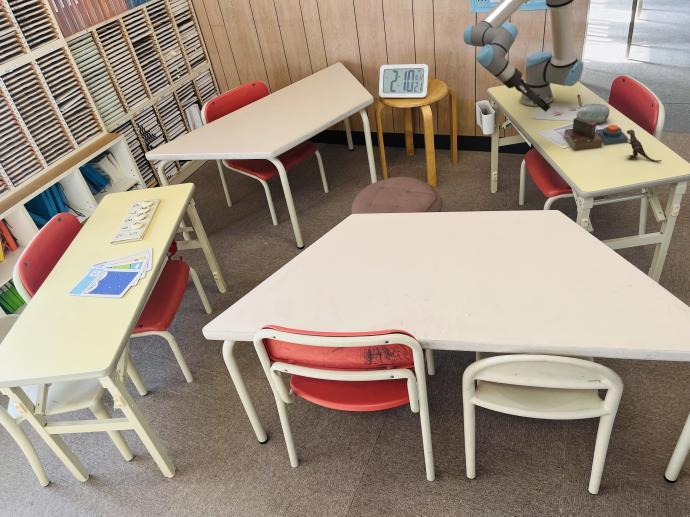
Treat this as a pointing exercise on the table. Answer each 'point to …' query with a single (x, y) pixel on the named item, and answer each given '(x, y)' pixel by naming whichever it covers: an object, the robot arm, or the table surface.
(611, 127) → the button
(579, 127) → the pointer
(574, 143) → the dial console
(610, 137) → the buzzer
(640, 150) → the dinosaur model
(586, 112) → the grey striped ovoid
